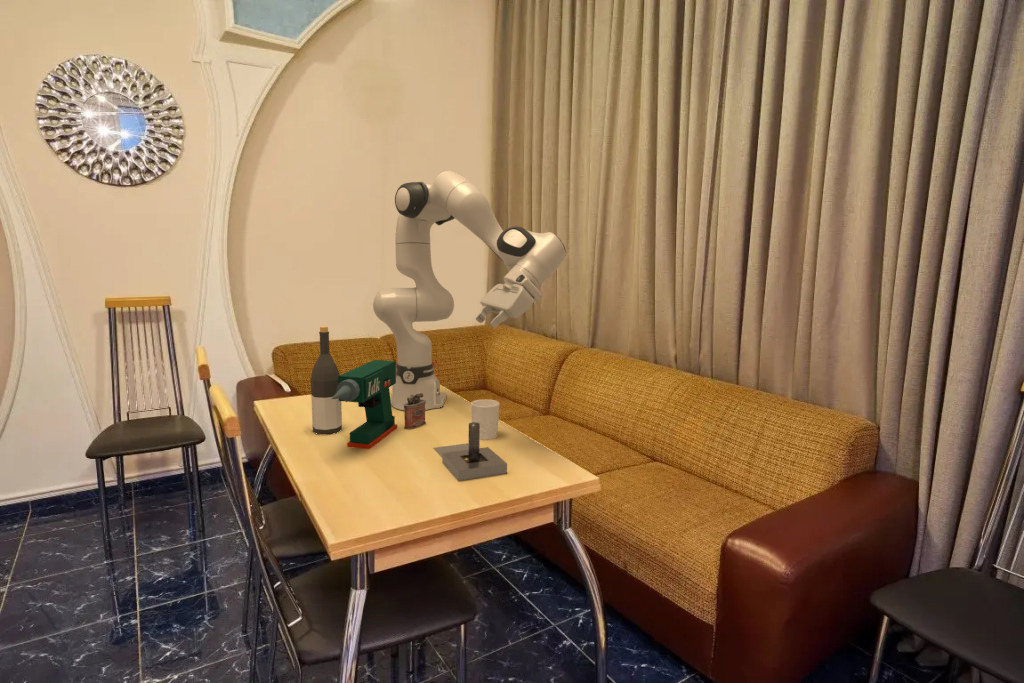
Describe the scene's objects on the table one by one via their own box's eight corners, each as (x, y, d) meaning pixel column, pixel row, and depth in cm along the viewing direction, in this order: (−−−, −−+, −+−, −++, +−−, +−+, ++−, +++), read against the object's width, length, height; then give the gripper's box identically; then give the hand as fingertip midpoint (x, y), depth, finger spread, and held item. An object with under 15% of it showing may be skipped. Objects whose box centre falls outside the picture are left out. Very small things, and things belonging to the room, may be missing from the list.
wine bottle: (325, 437, 164) (321, 329, 159) (306, 431, 168) (302, 326, 163) (348, 429, 170) (345, 326, 165) (329, 424, 175) (326, 323, 170)
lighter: (410, 431, 169) (409, 398, 168) (401, 429, 171) (400, 396, 170) (428, 425, 176) (428, 392, 174) (419, 423, 178) (419, 390, 176)
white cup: (499, 433, 170) (499, 399, 168) (498, 442, 162) (499, 407, 160) (471, 432, 170) (472, 399, 168) (469, 442, 162) (470, 406, 160)
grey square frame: (442, 464, 145) (442, 453, 144) (487, 458, 150) (488, 447, 149) (458, 483, 134) (458, 470, 134) (506, 475, 139) (507, 463, 139)
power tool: (347, 468, 142) (345, 386, 139) (320, 465, 143) (318, 384, 140) (398, 428, 173) (398, 360, 169) (376, 426, 174) (375, 359, 171)
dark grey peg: (468, 466, 144) (468, 421, 142) (483, 467, 143) (483, 422, 142) (464, 472, 141) (464, 425, 139) (479, 473, 140) (479, 426, 138)
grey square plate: (433, 449, 155) (433, 447, 155) (468, 444, 159) (468, 443, 159) (444, 462, 146) (444, 460, 146) (482, 457, 150) (482, 455, 150)
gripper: (496, 274, 162) (462, 310, 160) (529, 278, 144) (491, 320, 142) (511, 290, 165) (478, 326, 162) (545, 296, 146) (508, 337, 144)
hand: (484, 323), depth 152 cm, fingers open, 8 cm apart
